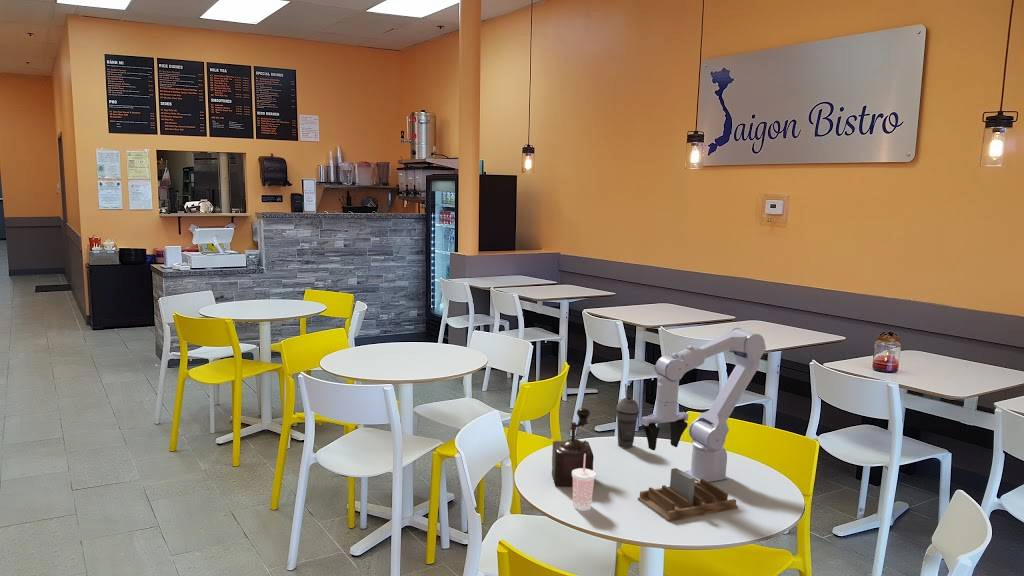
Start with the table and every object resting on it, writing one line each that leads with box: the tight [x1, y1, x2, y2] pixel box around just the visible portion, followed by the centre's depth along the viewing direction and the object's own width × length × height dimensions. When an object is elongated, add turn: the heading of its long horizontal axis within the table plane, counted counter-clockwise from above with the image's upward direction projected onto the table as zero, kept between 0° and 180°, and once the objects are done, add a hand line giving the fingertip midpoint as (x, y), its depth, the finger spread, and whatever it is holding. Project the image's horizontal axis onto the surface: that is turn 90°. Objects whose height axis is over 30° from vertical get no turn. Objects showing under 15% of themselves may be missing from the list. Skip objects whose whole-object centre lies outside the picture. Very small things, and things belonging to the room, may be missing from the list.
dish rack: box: [637, 479, 738, 522], centre depth 186 cm, size 22×13×4 cm, turn 115°
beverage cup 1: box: [572, 454, 597, 511], centre depth 181 cm, size 6×6×14 cm
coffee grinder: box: [551, 407, 594, 488], centre depth 200 cm, size 16×11×18 cm
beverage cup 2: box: [615, 383, 640, 449], centre depth 225 cm, size 7×7×20 cm
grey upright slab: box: [669, 467, 696, 507], centre depth 185 cm, size 2×7×8 cm, turn 30°
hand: (663, 447), depth 198 cm, fingers open, 7 cm apart
